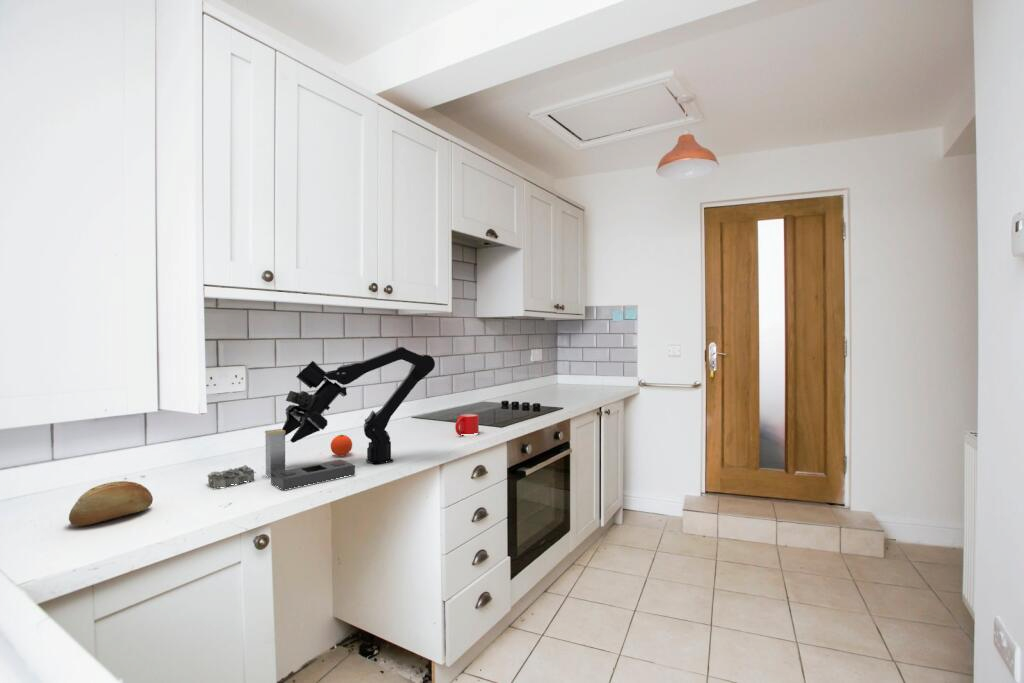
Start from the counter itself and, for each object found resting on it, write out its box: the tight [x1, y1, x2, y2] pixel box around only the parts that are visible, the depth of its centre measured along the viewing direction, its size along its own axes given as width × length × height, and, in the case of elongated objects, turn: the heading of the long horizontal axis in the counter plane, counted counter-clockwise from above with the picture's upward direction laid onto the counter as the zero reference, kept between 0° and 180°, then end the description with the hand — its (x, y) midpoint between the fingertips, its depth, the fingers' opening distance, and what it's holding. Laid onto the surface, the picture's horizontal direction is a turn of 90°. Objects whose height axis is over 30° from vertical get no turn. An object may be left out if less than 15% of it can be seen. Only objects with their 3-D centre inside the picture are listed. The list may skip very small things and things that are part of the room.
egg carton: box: [206, 464, 257, 489], centre depth 137 cm, size 11×8×4 cm
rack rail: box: [270, 459, 356, 491], centre depth 140 cm, size 20×9×3 cm, turn 134°
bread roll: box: [68, 480, 154, 527], centre depth 111 cm, size 10×15×8 cm, turn 146°
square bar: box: [264, 428, 286, 479], centre depth 143 cm, size 4×4×13 cm
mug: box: [454, 413, 480, 436], centre depth 201 cm, size 8×12×8 cm, turn 148°
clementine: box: [330, 434, 353, 457], centre depth 167 cm, size 8×7×7 cm
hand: (285, 439), depth 145 cm, fingers open, 9 cm apart
